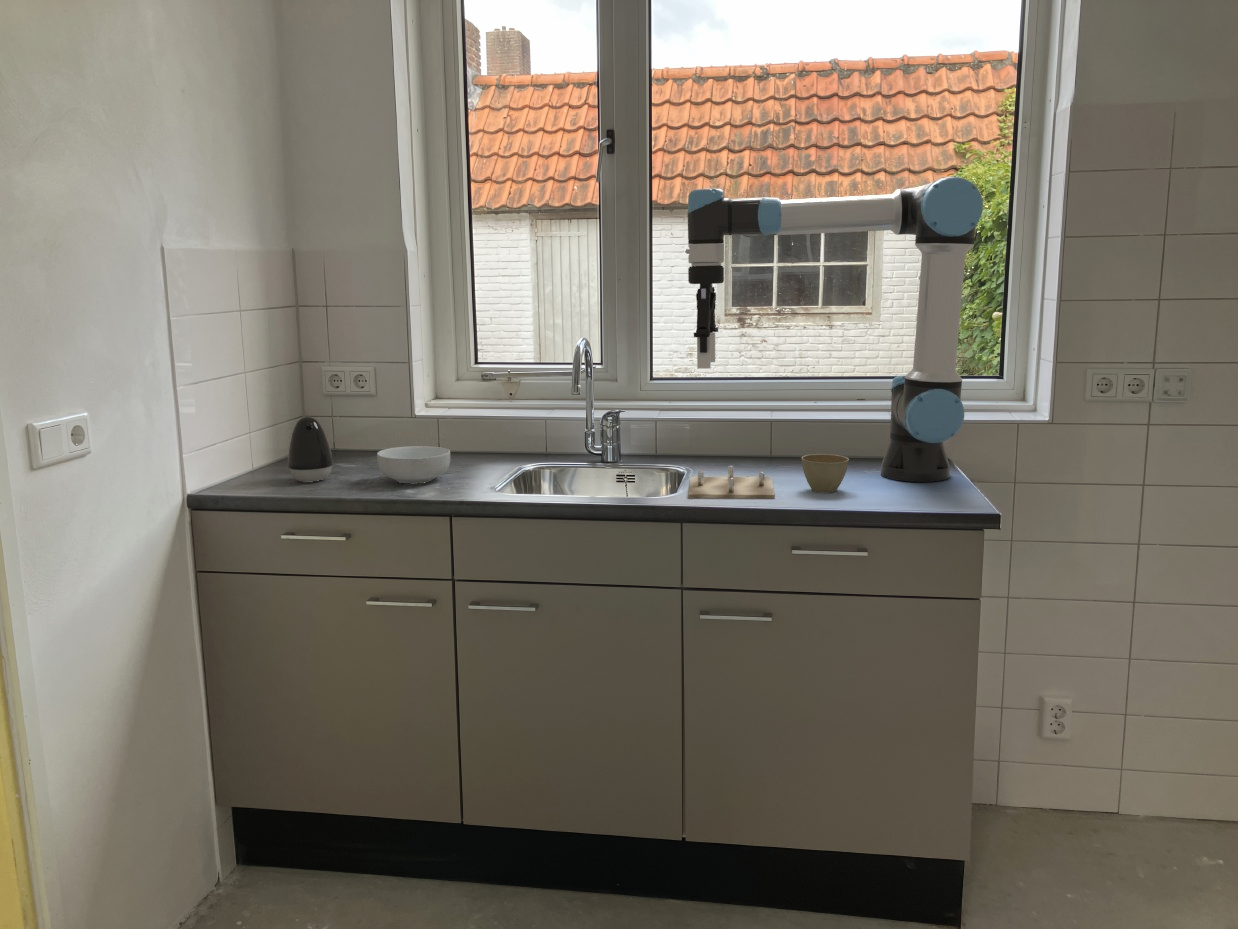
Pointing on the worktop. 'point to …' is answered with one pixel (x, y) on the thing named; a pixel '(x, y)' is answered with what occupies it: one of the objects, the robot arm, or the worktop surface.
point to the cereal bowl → (413, 463)
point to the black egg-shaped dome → (309, 451)
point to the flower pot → (824, 471)
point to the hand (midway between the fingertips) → (706, 365)
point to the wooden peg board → (731, 486)
